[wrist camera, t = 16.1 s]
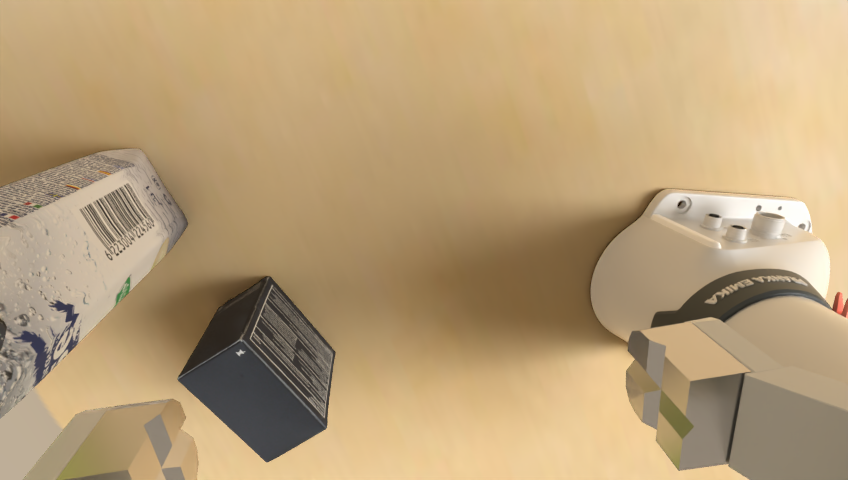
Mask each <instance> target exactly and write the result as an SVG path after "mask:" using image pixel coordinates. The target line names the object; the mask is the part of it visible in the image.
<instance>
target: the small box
mask: <svg viewBox="0 0 848 480" xmlns="http://www.w3.org/2000/svg"><path fill="white" fill-rule="evenodd" d="M334 358H335V351H334V350H333V349H332V348H331V346H330V345H329V344H328V343H327V342H326V341H325V339H324V338H323V337H322V336H321V335H320V334H319V332H318V331H317V330H316V329H315V328H314V327H313V325H312V324H311V323H310V322H309V321H308V320H307V319H306V317H305V316H304V315H303V314H302V313H301V312H300V310H299V309H298V308H297V307H296V306H295V305H294V303H293V302H292V301H291V300H290V299H289V298H288V296H287V295H286V294H285V293H284V292H283V291H282V290H281V288H280V287H279V286H278V285H277V284H276V283H275V282H274V281H273V279H272V278H271V277H265V278H263V279H262V280H260V282H259V283H257V284H254V286H252V287H251V288H249V289H247V290H246V291H245V292H243V293H241V294H239V295H238V296H237V297H235V298H233V299H230V300H229V301H228V302H226V303H225V304H224V305H223V306H221V307H219V308H218V310H217V312H216V313H215V315H214V317H213V319H212V320H211V322H210V324H209V326H208V327H207V329H206V331H205V332H204V334H203V336H202V338H201V339H200V341H199V343H198V345H197V346H196V348H195V350H194V351H193V353H192V355H191V356H190V358H189V360H188V362H187V364H186V365H185V367H184V369H183V371H182V372H181V374H180V375H179V377H178V381H179V382H180V383H182V384H183V385H184V386H185V387H186V388H187V389H188V390H189V391H190V392H191V393H192V394H193V395H194V396H195V397H197V398H198V399H199V400H200V401H201V402H202V403H203V404H204V405H205V406H206V407H208V408H209V409H210V410H211V411H212V412H213V413H214V414H215V415H216V416H217V417H218V418H219V419H220V420H222V421H223V422H224V423H225V424H226V425H227V426H228V427H229V428H230V429H231V430H232V431H233V432H234V433H236V434H237V435H238V436H239V437H240V438H241V439H242V440H243V441H244V442H245V443H246V444H247V445H248V446H249V447H251V448H252V449H253V450H254V451H255V452H256V453H257V454H258V455H259V456H260V457H261V458H262V459H263V460H264V461H265V462H269V461H271V460H273V459H275V458H277V457H279V456H280V455H282V454H284V453H286V452H287V451H289V450H291V449H293V448H295V447H296V446H298V445H299V444H301V443H303V442H305V441H306V440H308V439H310V438H312V437H313V436H315V435H317V434H318V433H320V432H322V431H323V430H325V429H326V428H327V416H328V405H329V396H330V388H331V380H332V372H333V364H334Z"/></svg>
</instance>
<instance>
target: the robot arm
mask: <svg viewBox="0 0 848 480" xmlns="http://www.w3.org/2000/svg"><path fill="white" fill-rule="evenodd" d="M680 201H682V202H681V205H680V206H678V207H677V205H678V203H679V202H680ZM798 226H799V227H798ZM829 277H830V258H829V253H828V250H827V248H826V246H825V244H824V243H823V241H822V240H821V239H820V238H819V237H817V236H815V235H814V234H812V225H811V219H810V215H809V212H808V209H807V207H806V205H805V204H804V203H803V202H802V201H800V200H798V199H795V198H789V197H777V196H763V195H749V194H735V193H721V192H707V191H693V190H680V189H665V190H662V191H661V192H659V193H658V194H657V195H656V196H655V197H654V199H653V200H652V201H651V202H650V204H649V205H648V207H647V208H646V210H645V211H644V213H643V214H642V216H641V217H640V218H639V219H637V220H636V221H635V222H634V223H633V224H631V225H630V226H629V227H627V228H626V229H625V230H623V231H622V232H621V233H620V234H619V235H618V236H616V237H615V238H614V240H613V241H612V242H611V243H610V244H609V245H608V246H607V248H606V249H605V251H604V252H603V254H602V255H601V257H600V259H599V261H598V263H597V265H596V267H595V270H594V273H593V277H592V282H591V302H592V306H593V310H594V312H595V314H596V316H597V318H598V320H599V321H600V323H601V324H602V325H603V326H604V327H605V328H606V329H607V330H608V331H610V332H611V333H613V334H614V335H616V336H618V337H620V338H621V339H623V340H625V341H626V342H628V351H629V353H630V354H631V355H632V356H633V357H634V359H635V360H634V361H633V363H632V364H631V365H630V366H629V368H628V369H627V370H626V389H627V393H628V397H629V401H630V403H631V405H632V407H633V409H634V411H635V413H636V414H637V416H638V417H639V418H640V420H641V421H642V422H643V423H645V424H647V425H649V426H651V427H653V428H655V429H657V435H656V441H657V443H658V444H659V445H660V447H661V448H662V449H663V451H664V452H665V453H666V455H667V456H668V457H669V458H670V460H671V461H672V462H673V464H674V465H675V466H676V468H677V469H678V470H679V471H680V470H687V469H694V468H702V467H709V466H716V465H723V464H729V465H728V466H729V467H730V468H732V469H733V470H735V471H737V472H738V473H740V474H742V475H743V476H745V477H746V478H748V479H750V480H848V299H847V301H846V303H845V306H844V308H843V298H842V293H840V292H837V294H836V296H835V300H834V304H833V309H832V308H831V307H830V306H829V304H828V303H827V302H826V300H825V298H826V294H827V289H828V284H829ZM185 419H186V416H185V414H184V411H183V409H182V406H181V404H180V402H178V401H176V400H174V399H168V400H160V401H152V402H144V403H136V404H128V405H121V406H115V407H106V408H99V409H93V410H86V411H83V412H81V413H79V414H76V415H75V416H74V417H73V419H72V420H71V421H70V422H69V424H68V425H67V426H66V427H65V428H64V430H63V431H62V432H61V433H60V435H59V436H58V437H57V438H56V440H55V441H54V442H53V443H52V444H51V446H50V447H49V448H48V449H47V450H46V452H45V453H44V454H43V455H42V457H41V458H40V459H39V460H38V462H37V463H36V464H35V465H34V467H33V468H32V469H31V470H30V471H29V473H28V474H27V475H26V476H25V477H24V479H23V480H197V472H198V463H199V462H198V454H197V448H196V445H195V442H194V439H193V437H191V436H190V435H189V434H187V433H186V432H184V431H183V430H181V427H182V425H183V423H184V421H185Z"/></svg>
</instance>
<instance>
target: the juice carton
mask: <svg viewBox="0 0 848 480" xmlns="http://www.w3.org/2000/svg"><path fill="white" fill-rule="evenodd" d="M187 225H188V222H187V219H186V217H185V216H184V214H183V213H182V211H181V209H180V208H179V206H178V205H177V204H176V202H175V201H174V199H173V198H172V196H171V195H170V194H169V192H168V191H167V189H166V188H165V186H164V184H163V183H162V181H161V180H160V178H159V176H158V174H157V173H156V171H155V169H154V168H153V166H152V164H151V163H150V161H149V160H148V158H147V157H146V155H145V154H144V153H143V151H141V150H140V149H137V148H130V149H118V150H109V151H102V152H98V153H94V154H91V155H88V156H85V157H82V158H79V159H76V160H73V161H71V162H68V163H65V164H62V165H60V166H57V167H54V168H51V169H49V170H46V171H43V172H40V173H38V174H35V175H32V176H29V177H27V178H24V179H21V180H18V181H16V182H13V183H10V184H7V185H5V186H2V187H0V418H2V417H3V416H4V415H5V414H6V413H7V412H8V411H10V410H11V409H12V408H13V407H14V406H15V405H16V404H17V403H18V402H20V400H22V399H23V398H24V397H25V396H26V395H27V394H28V393H29V392H30V391H31V390H32V389H33V388H34V387H35V386H36V385H37V384H38V383H39V382H40V381H41V380H42V379H43V378H44V377H45V376H46V375H47V374H48V373H49V372H50V371H51V370H52V369H53V368H54V367H55V366H56V365H57V364H58V363H59V362H60V361H61V360H62V359H63V358H64V357H65V356H66V355H67V354H68V353H69V352H70V351H71V350H72V349H73V348H74V347H75V346H76V345H77V344H78V343H79V342H80V341H81V340H82V339H83V338H84V337H85V336H86V335H87V334H88V333H89V332H90V331H91V330H92V329H93V328H94V327H95V326H96V325H97V324H98V323H99V322H100V321H101V320H102V319H103V318H104V317H105V316H106V315H107V314H108V313H109V312H110V311H111V310H112V309H113V308H114V307H115V306H116V305H117V304H118V303H119V302H120V301H121V300H122V299H123V298H124V297H125V296H126V295H127V294H128V293H129V292H130V291H131V290H132V289H133V288H134V287H135V286H136V285H137V284H138V283H139V282H140V281H141V280H142V279H143V278H144V277H145V276H146V275H147V274H148V273H149V272H150V271H151V270H152V269H153V268H154V267H155V266H156V265H157V264H158V263H159V262H160V261H161V260H162V259H163V258H164V257H165V255H166V254H167V253H168V252H169V251H170V250H171V248H172V247H173V246H174V244H175V243H176V242H177V240H178V239H179V238H180V236H181V235H182V233H183V232H184V230H185V229H186V227H187Z"/></svg>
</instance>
